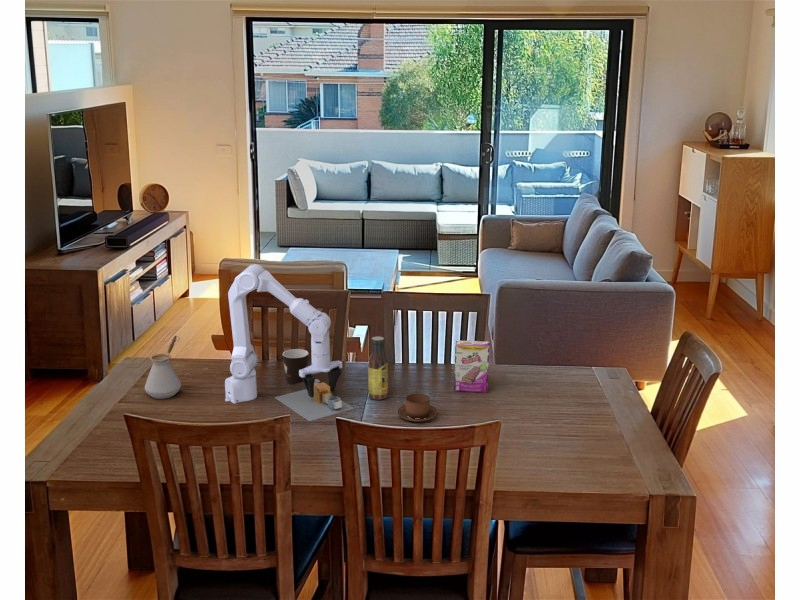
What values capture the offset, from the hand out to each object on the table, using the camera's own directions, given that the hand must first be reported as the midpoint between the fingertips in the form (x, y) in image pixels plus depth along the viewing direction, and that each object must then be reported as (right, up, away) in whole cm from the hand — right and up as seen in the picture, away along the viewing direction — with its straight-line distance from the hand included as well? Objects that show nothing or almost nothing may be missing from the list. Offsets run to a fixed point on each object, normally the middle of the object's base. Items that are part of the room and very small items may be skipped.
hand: (321, 393), depth 275 cm
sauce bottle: (+18, -2, +7) cm, 19 cm away
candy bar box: (+48, 0, +13) cm, 50 cm away
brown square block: (0, -2, +1) cm, 2 cm away
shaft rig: (+1, -2, +1) cm, 3 cm away
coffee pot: (-51, 0, +14) cm, 53 cm away
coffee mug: (-10, +2, +21) cm, 24 cm away
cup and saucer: (+30, -7, -7) cm, 31 cm away
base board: (-2, -4, -1) cm, 5 cm away
